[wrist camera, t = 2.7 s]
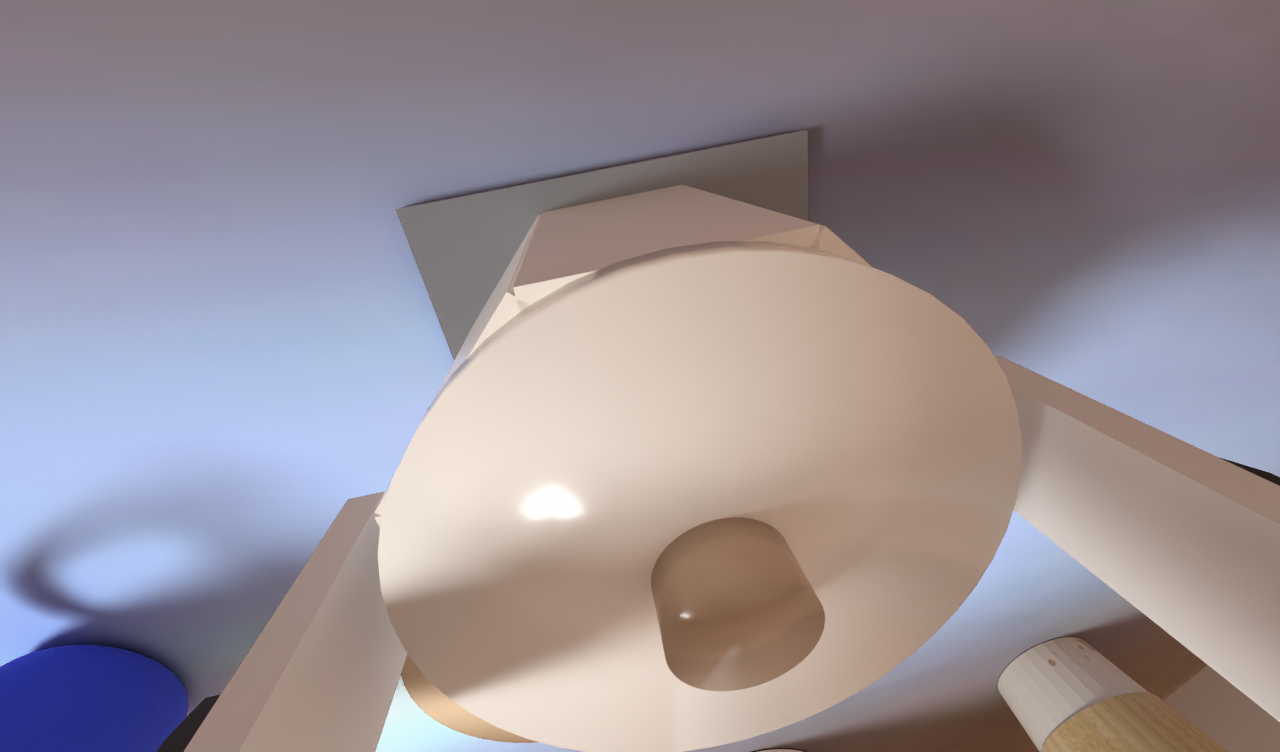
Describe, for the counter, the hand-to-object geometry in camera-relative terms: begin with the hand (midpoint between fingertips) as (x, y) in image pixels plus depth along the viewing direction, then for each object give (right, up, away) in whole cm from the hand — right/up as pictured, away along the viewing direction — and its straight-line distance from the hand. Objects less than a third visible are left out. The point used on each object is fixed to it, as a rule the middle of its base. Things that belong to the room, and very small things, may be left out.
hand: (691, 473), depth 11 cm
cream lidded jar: (-1, +3, +5) cm, 6 cm away
